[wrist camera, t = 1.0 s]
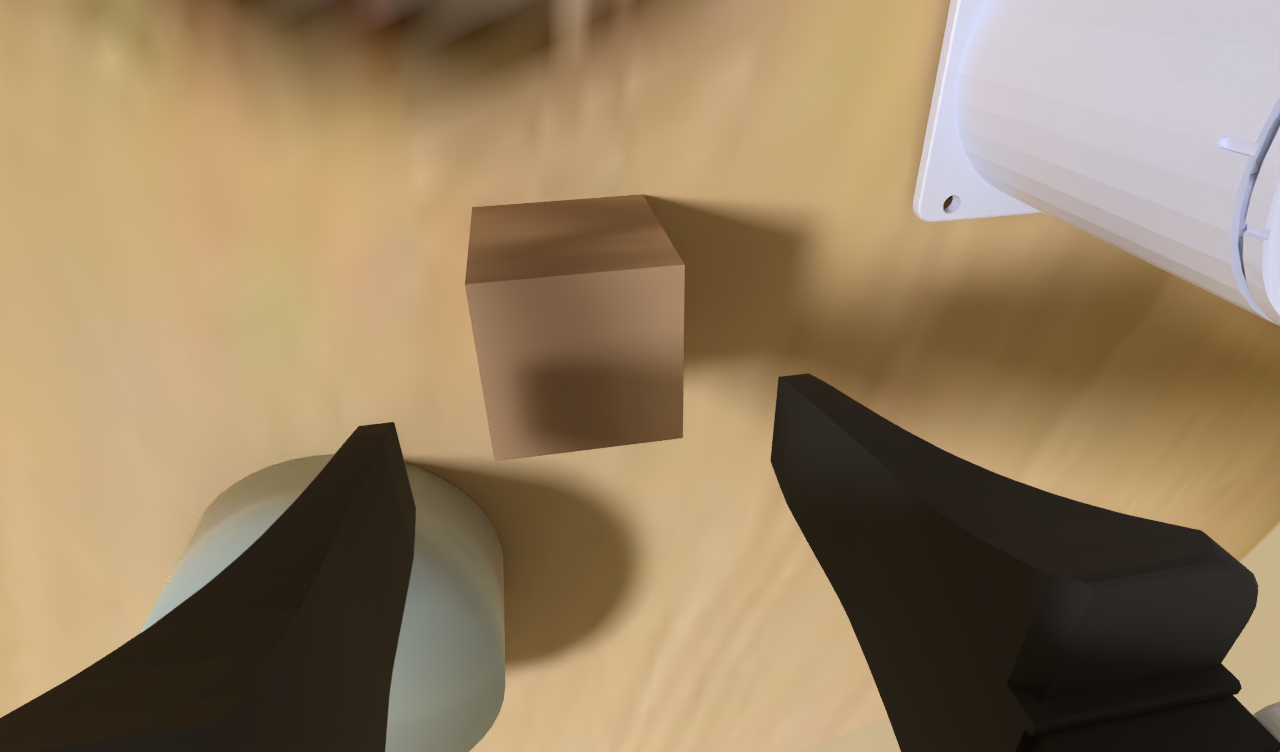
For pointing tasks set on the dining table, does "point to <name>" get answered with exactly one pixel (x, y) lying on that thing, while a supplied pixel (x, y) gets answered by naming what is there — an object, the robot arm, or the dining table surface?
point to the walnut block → (576, 325)
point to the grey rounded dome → (434, 610)
